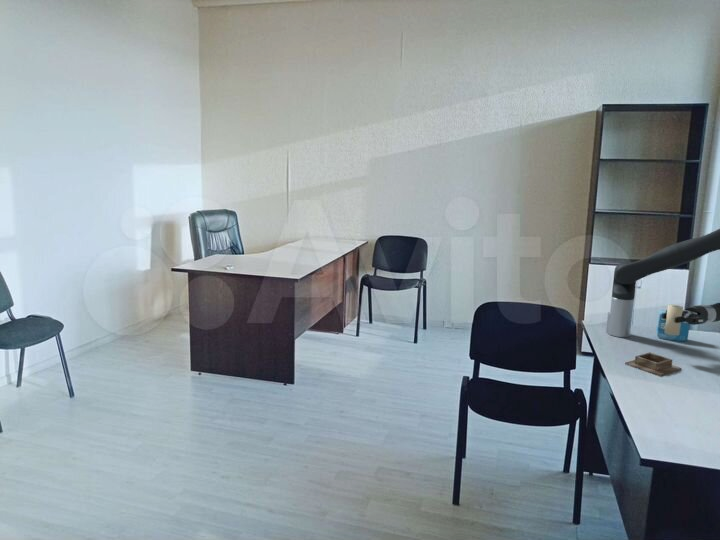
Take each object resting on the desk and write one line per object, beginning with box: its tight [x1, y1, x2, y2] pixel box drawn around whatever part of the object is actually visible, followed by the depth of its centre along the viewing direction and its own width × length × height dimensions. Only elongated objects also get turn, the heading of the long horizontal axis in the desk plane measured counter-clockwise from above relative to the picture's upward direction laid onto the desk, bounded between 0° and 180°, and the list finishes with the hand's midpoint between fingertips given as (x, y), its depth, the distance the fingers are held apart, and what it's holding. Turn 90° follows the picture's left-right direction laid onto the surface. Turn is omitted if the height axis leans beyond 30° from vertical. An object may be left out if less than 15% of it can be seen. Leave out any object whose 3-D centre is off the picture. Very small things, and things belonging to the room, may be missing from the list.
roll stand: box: [624, 352, 682, 377], centre depth 215 cm, size 14×14×4 cm
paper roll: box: [665, 304, 684, 335], centre depth 221 cm, size 5×5×11 cm
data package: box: [656, 310, 691, 342], centre depth 249 cm, size 12×4×12 cm, turn 66°
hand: (669, 318), depth 220 cm, fingers closed on paper roll, 5 cm apart
